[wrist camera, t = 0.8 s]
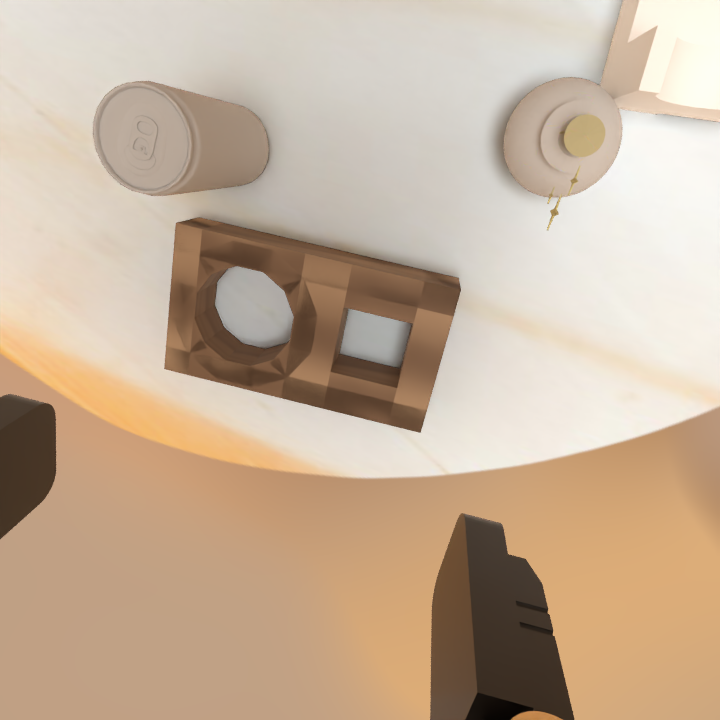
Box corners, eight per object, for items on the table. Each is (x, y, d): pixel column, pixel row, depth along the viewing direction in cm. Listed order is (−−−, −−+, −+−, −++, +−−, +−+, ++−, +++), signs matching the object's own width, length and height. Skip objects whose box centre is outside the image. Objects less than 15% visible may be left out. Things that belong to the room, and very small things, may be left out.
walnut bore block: (199, 217, 37) (175, 222, 33) (458, 278, 36) (460, 289, 33) (186, 352, 40) (164, 368, 37) (421, 410, 39) (420, 432, 36)
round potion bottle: (621, 101, 31) (700, 76, 22) (568, 228, 34) (619, 254, 25) (519, 72, 31) (555, 35, 22) (476, 201, 34) (491, 216, 25)
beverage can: (192, 168, 36) (81, 173, 24) (210, 92, 34) (100, 60, 23) (260, 196, 36) (180, 213, 25) (282, 122, 34) (206, 103, 23)
